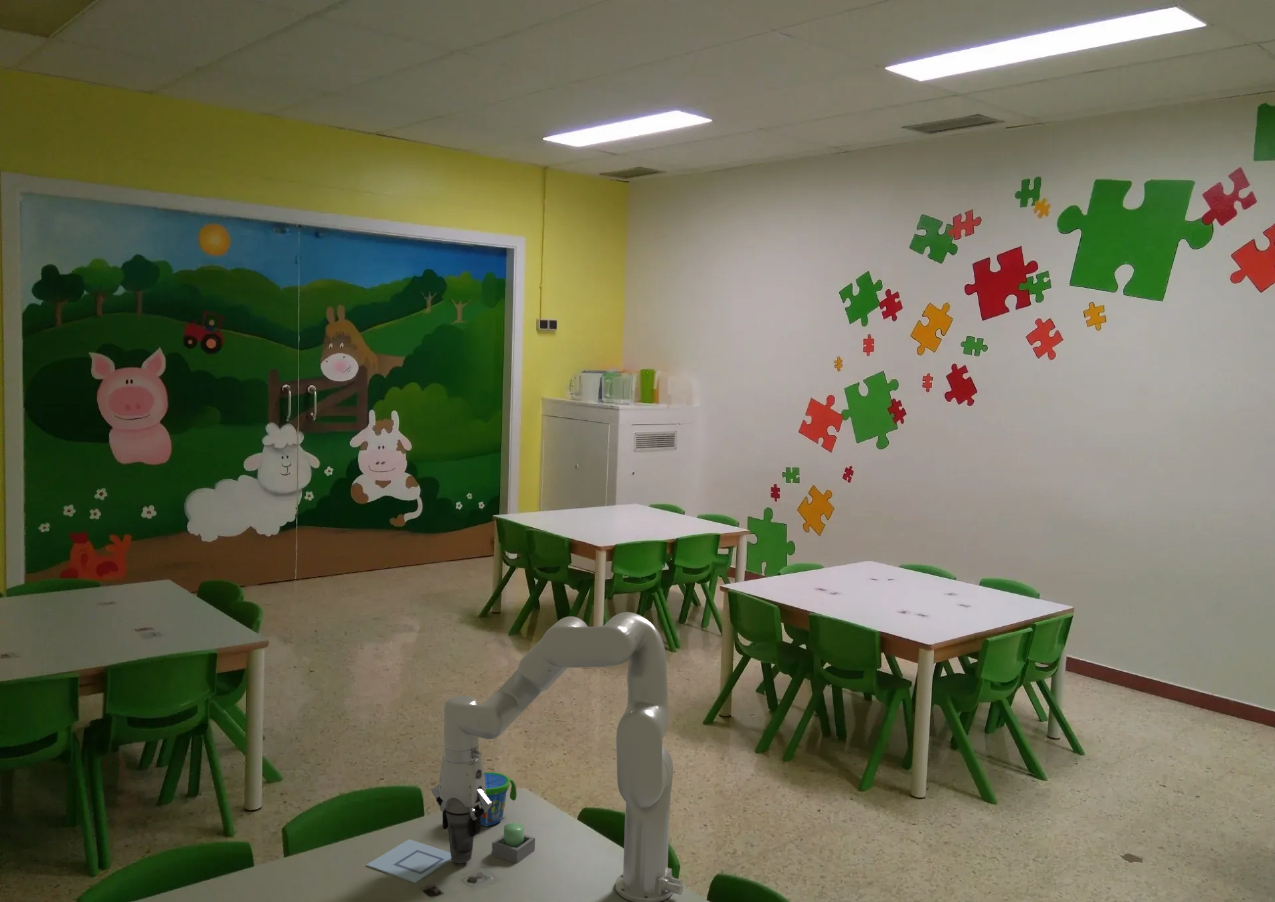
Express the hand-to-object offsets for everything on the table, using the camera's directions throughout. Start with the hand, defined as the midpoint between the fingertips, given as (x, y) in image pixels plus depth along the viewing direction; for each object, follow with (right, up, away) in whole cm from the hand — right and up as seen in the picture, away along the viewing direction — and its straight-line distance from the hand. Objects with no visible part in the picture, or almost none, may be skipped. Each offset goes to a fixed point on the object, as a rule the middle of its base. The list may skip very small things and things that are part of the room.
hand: (461, 830), depth 219 cm
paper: (-11, -7, +1) cm, 13 cm away
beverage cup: (0, -7, +1) cm, 7 cm away
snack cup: (+2, -6, +22) cm, 23 cm away
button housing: (+11, -7, +6) cm, 14 cm away
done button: (+11, -5, +6) cm, 13 cm away
